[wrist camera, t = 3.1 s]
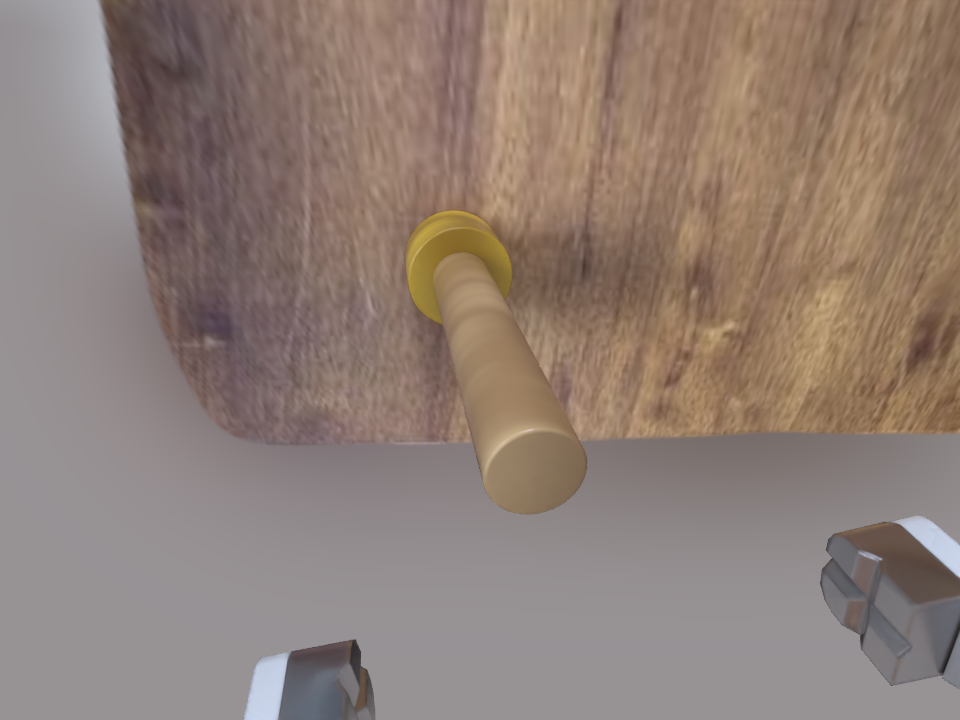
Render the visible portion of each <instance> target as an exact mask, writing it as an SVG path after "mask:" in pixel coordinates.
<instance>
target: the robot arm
mask: <svg viewBox="0 0 960 720" xmlns="http://www.w3.org/2000/svg"><path fill="white" fill-rule="evenodd" d="M826 551H827V552H828V553H829V554H830V556H831V557H832V559H831V560H830V561H829V562H828V563H827V564H826V565H825V567H824V568H823V569H822V574H821V581H820V584H821V588H822V592H823V595H824V599H825V601H826V603H827V605H828V606H829V608H830V610H831V612H832V613H833V615H834V616H835V617H836V618H837V620H838V621H839V622H840V624H841V625H842V626H845V627H846V628H848V629H850V630H852V631H854V632H856V633H858V634H859V635H860V644H861V650H862V651H863V652H864V653H865V655H866V656H867V657H868V658H869V659H870V661H871V662H872V663H873V664H874V666H875V667H876V668H877V669H878V671H879V672H880V673H881V674H882V675H883V677H884V678H885V679H886V680H887V682H888V683H889V684H890V685H891V686H893V685H897V684H902V683H907V682H912V681H917V680H922V679H927V678H931V677H937V676H942V675H943V677H942V679H944V680H945V681H947V682H948V683H950V684H952V685H953V686H955V687H956V688H958V689H960V545H959V544H958V543H957V542H956V541H954V540H953V539H952V538H951V537H950V536H949V535H947V534H946V533H945V532H944V531H942V530H941V529H940V528H939V527H938V526H937V525H935V524H934V523H933V522H932V521H931V520H929V519H927V518H925V517H922V516H920V515H918V516H913V517H908V518H903V519H900V520H895V521H890V522H882V523H878V524H874V525H869V526H865V527H861V528H857V529H852V530H849V531H844V532H840V533H835V534H833V535H832V536H831V537H830V538H829V539H828V543H827V547H826ZM244 720H375V706H374V695H373V689H372V684H371V680H370V677H369V674H368V671H367V669H365V668H363V667H361V651H360V649H359V646H358V644H357V641H356V640H349V641H344V642H339V643H333V644H328V645H323V646H318V647H312V648H307V649H301V650H296V651H291V652H287V653H282V654H277V655H272V656H267V657H263V658H260V659H259V661H258V663H257V665H256V667H255V669H254V673H253V678H252V682H251V688H250V692H249V696H248V701H247V706H246V711H245V715H244Z"/></svg>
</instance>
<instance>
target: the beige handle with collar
mask: <svg viewBox="0 0 960 720" xmlns="http://www.w3.org/2000/svg"><path fill="white" fill-rule="evenodd" d="M405 265H406V272H407V279H408V286H409V291H410V294H411V297H412V299H413V301H414V303H415V304H416V306H417V307H418V309H419V310H420V311H421V312H422V313H423V314H424V315H425V316H427V317H428V318H429V319H431V320H433V321H435V322H437V323H439V324H442V325H443V327H444V331H445V335H446V339H447V343H448V347H449V351H450V354H451V358H452V362H453V366H454V370H455V374H456V378H457V382H458V386H459V390H460V394H461V398H462V402H463V406H464V410H465V414H466V418H467V422H468V425H469V429H470V433H471V437H472V441H473V445H474V449H475V453H476V457H477V461H478V465H479V469H480V472H481V476H482V480H483V484H484V488H485V491H486V493H487V494H488V496H489V497H490V499H491V500H492V501H493V502H494V503H496V504H497V505H498V506H499V507H501V508H503V509H505V510H507V511H509V512H513V513H518V514H537V513H542V512H545V511H549V510H551V509H554V508H556V507H558V506H560V505H561V504H563V503H564V502H566V501H567V500H568V499H569V498H571V496H573V495H574V494H575V493H576V491H577V490H578V489H579V487H580V486H581V484H582V482H583V480H584V477H585V474H586V469H587V457H586V453H585V450H584V448H583V446H582V444H581V442H580V440H579V439H578V437H577V435H576V433H575V431H574V429H573V427H572V425H571V424H570V422H569V420H568V418H567V416H566V414H565V412H564V410H563V408H562V407H561V405H560V403H559V401H558V399H557V397H556V395H555V393H554V392H553V390H552V388H551V386H550V384H549V382H548V380H547V378H546V377H545V375H544V373H543V371H542V369H541V367H540V365H539V363H538V361H537V360H536V358H535V356H534V354H533V352H532V350H531V348H530V346H529V345H528V343H527V341H526V339H525V337H524V335H523V333H522V331H521V329H520V328H519V326H518V324H517V322H516V320H515V318H514V316H513V314H512V313H511V311H510V309H509V307H508V305H507V303H506V301H505V300H506V298H507V296H508V294H509V292H510V289H511V285H512V277H513V273H512V265H511V261H510V258H509V256H508V254H507V251H506V250H505V248H504V247H503V245H502V244H501V242H500V241H499V239H498V238H497V236H496V235H495V233H494V232H493V230H492V229H491V228H490V227H489V225H488V224H487V223H486V222H484V221H483V220H482V219H481V218H479V217H477V216H476V215H473V214H471V213H468V212H465V211H458V210H450V211H443V212H439V213H437V214H434V215H432V216H430V217H428V218H427V219H425V220H424V221H423V222H421V223H420V224H419V225H418V226H417V227H416V229H415V230H414V231H413V233H412V234H411V236H410V238H409V240H408V243H407V246H406V251H405Z"/></svg>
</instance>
